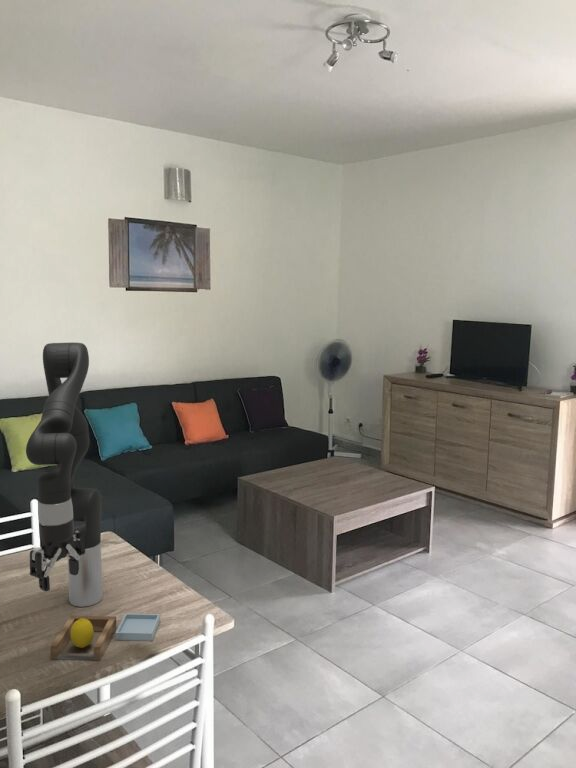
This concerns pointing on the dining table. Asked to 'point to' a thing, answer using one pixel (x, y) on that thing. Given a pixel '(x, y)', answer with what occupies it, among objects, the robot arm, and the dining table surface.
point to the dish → (138, 627)
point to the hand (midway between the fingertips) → (59, 582)
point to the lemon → (81, 633)
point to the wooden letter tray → (99, 624)
